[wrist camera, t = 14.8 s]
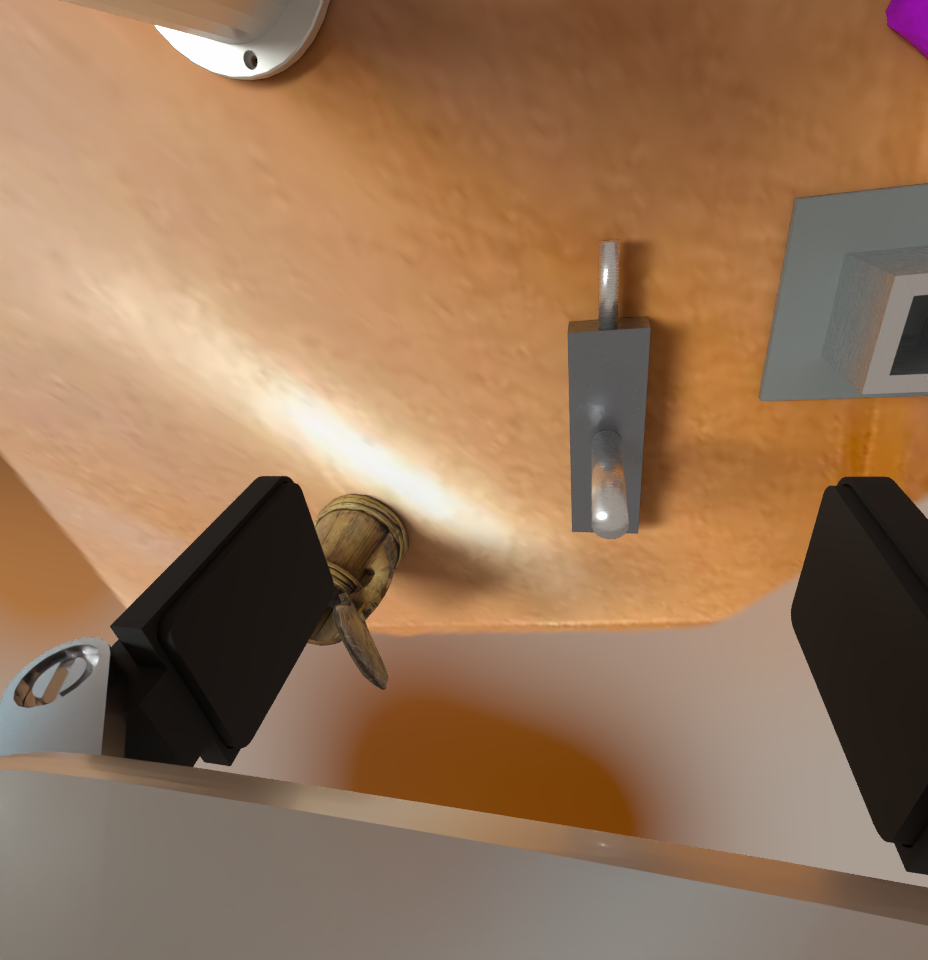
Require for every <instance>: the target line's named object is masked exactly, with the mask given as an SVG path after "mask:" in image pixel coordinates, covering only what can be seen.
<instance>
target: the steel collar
mask: <svg viewBox="0 0 928 960" xmlns="http://www.w3.org/2000/svg"><path fill="white" fill-rule="evenodd" d="M919 295H928V245H924V246H914V247H903V248H893V249H883V250H872V251H862V252H851V253H845V255H844V259H843V263H842V267H841V272H840V276H839V280H838V285H837V289H836V293H835V298H834V302H833V306H832V311H831V315H830V319H829V324H828V328H827V332H826V336H825V341H824V345H823V349H822V354H821V356H822V357H823V358H824V359H825V360H826V361H827V362H828V363H829V364H830V365H831V366H832V367H833V368H834V369H836V370H837V371H838V372H839V373H840V374H841V375H842V376H843V377H844V378H845V379H846V380H847V381H848V382H849V383H850V384H851V385H852V386H853V387H855V388H856V389H857V390H858V391H859V392H860V393H861V394H883V393H909V392H928V314H927V317H926V320H925V323H924V326H923V329H922V332H921V334H915V335H902V333H903V329H904V326H905V323H906V320H907V316H908V313H909V310H910V307H911V303H912V300H913V297H914V296H919Z"/></svg>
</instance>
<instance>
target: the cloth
mask: <svg viewBox="0 0 928 960" xmlns="http://www.w3.org/2000/svg"><path fill="white" fill-rule="evenodd" d="M886 15H887V25H888V26H889V27H891V28H892V29H893V30H895V31H896V32H897V33H898V34H900V35H901V36H902V37H904V38H905V39H906V40H907V41H909V42H910V43H911V44H912V45H913V46H914V47H915V48H917V49H918V50H919V51H920V52H921V53H922V54H923V55H924V56H926V57H927V58H928V0H892V1H891V3H890V4H889V6H888V8H887V10H886Z"/></svg>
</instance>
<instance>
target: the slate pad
mask: <svg viewBox="0 0 928 960" xmlns="http://www.w3.org/2000/svg"><path fill="white" fill-rule="evenodd" d="M924 245H928V183H924V184H915V185H906V186H898V187H889V188H880V189H871V190H862V191H854V192H845V193H836V194H827V195H818V196H810V197H801V198H795V203H794V208H793V214H792V219H791V224H790V230H789V235H788V241H787V246H786V252H785V257H784V263H783V268H782V273H781V279H780V284H779V290H778V295H777V301H776V306H775V312H774V317H773V322H772V328H771V333H770V339H769V344H768V350H767V355H766V361H765V366H764V371H763V377H762V382H761V388H760V393H759V399H760V400H761V401H777V400H810V399H842V398H875V397H907V396H928V392H909V393H883V394H861V393H860V392H859V391H858V390H857V389H856V388H855V387H853V386H852V385H851V384H850V383H849V382H848V381H847V380H846V379H845V378H844V377H843V376H842V375H841V374H840V373H839V372H838V371H837V370H836V369H834V368H833V367H832V366H831V365H830V364H829V363H828V362H827V361H826V360H825V359H824V358H823V357H822V356H821V354H822V349H823V345H824V341H825V336H826V332H827V328H828V324H829V319H830V315H831V311H832V306H833V302H834V298H835V293H836V289H837V285H838V280H839V276H840V272H841V267H842V263H843V259H844V255H845V253H851V252H862V251H872V250H883V249H893V248H903V247H914V246H924ZM927 314H928V295H919V296H914V297H913V300H912V303H911V307H910V310H909V313H908V316H907V320H906V323H905V326H904V329H903V333H902V335H915V334H921V332H922V329H923V326H924V323H925V320H926V317H927Z"/></svg>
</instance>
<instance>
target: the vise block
mask: <svg viewBox="0 0 928 960" xmlns="http://www.w3.org/2000/svg"><path fill="white" fill-rule="evenodd" d="M619 267H620V240H619V239H610V240H603V241H600V242H599V319H598V320H587V321H573V322H569V327H568V366H569V411H570V456H571V500H572V532H595V533H596V534H597V535H598V536H600V537H602V538H605V539H616V538H619V537H621V536H623V535H624V534H625V533H638V527H639V510H640V494H641V478H642V462H643V446H644V429H645V413H646V397H647V381H648V364H649V348H650V332H651V327H650V324H649V320H648V317H647V316H645V317H631V318H618V302H619Z"/></svg>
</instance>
